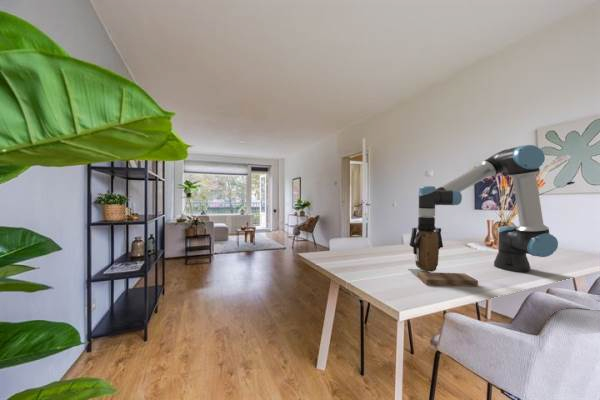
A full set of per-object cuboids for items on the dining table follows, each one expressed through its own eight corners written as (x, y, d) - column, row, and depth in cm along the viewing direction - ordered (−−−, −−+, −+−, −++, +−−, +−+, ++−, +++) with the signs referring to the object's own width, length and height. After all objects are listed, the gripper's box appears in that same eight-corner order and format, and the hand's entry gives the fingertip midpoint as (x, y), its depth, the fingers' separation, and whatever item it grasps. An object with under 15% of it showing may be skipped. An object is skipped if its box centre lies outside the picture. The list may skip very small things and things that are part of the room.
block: (439, 272, 120) (440, 231, 120) (425, 272, 119) (426, 232, 119) (425, 265, 131) (425, 228, 131) (412, 266, 130) (413, 228, 129)
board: (464, 278, 118) (464, 273, 118) (477, 286, 108) (477, 280, 108) (417, 277, 119) (417, 271, 119) (426, 284, 109) (426, 279, 109)
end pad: (425, 269, 131) (425, 269, 131) (435, 277, 119) (435, 276, 119) (407, 269, 132) (407, 268, 132) (416, 276, 120) (416, 276, 120)
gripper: (444, 216, 127) (443, 259, 128) (402, 215, 129) (402, 258, 130) (452, 217, 120) (451, 263, 121) (408, 217, 122) (407, 262, 122)
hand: (425, 260), depth 125 cm, fingers closed on block, 8 cm apart
